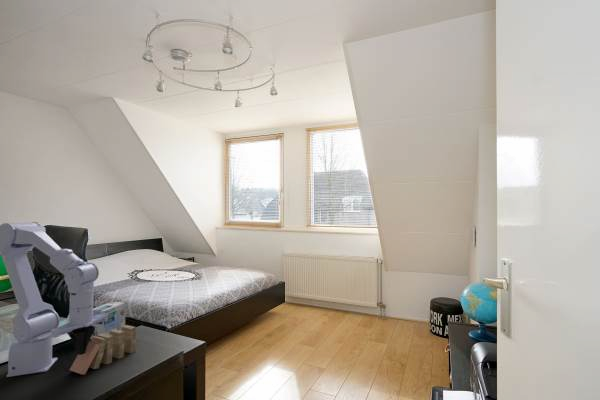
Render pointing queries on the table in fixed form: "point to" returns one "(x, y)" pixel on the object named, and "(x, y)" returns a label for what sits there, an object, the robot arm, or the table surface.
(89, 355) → the domino
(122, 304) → the light bulb box
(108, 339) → the domino
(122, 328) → the domino
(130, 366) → the table surface
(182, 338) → the table surface
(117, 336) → the domino
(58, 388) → the table surface
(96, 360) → the domino
